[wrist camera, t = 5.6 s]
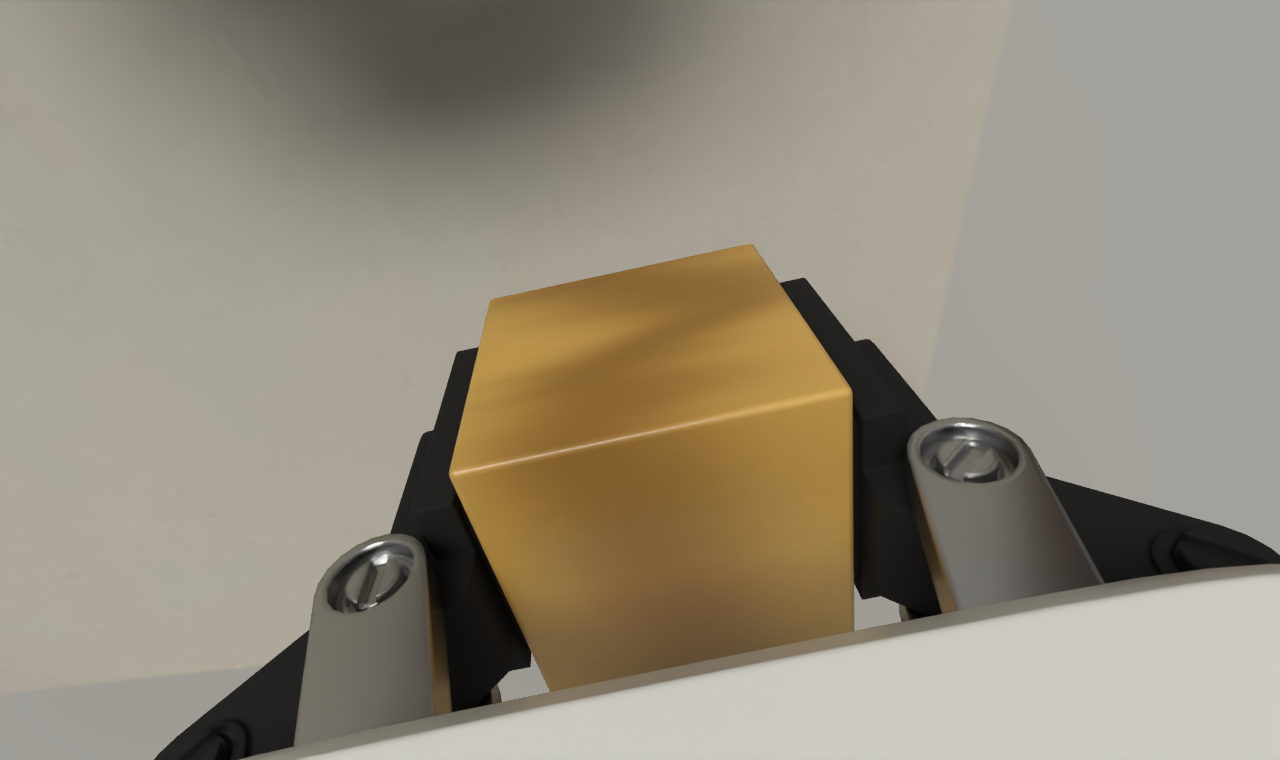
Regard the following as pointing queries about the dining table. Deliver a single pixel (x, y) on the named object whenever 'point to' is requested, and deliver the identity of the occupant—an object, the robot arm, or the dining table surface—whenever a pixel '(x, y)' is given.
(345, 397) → the dining table surface
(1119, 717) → the robot arm
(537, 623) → the block
